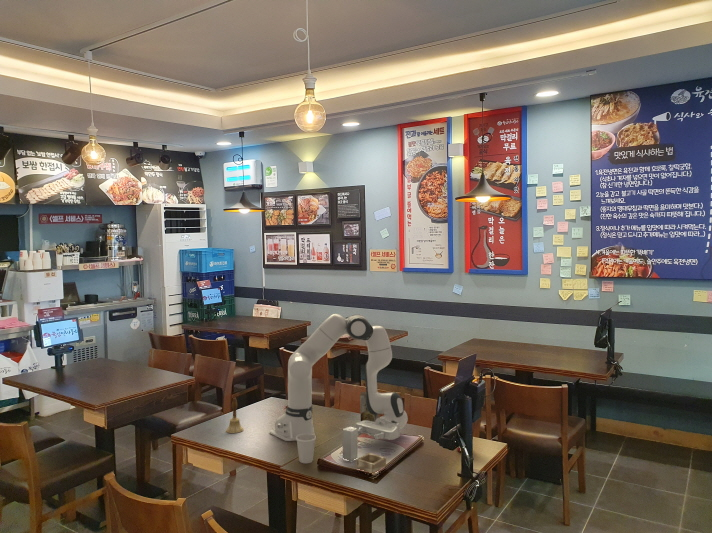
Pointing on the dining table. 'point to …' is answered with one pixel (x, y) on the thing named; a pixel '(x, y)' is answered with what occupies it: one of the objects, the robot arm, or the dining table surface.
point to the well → (371, 463)
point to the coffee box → (364, 412)
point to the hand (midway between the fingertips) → (366, 434)
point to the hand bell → (234, 420)
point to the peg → (350, 443)
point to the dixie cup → (306, 447)
